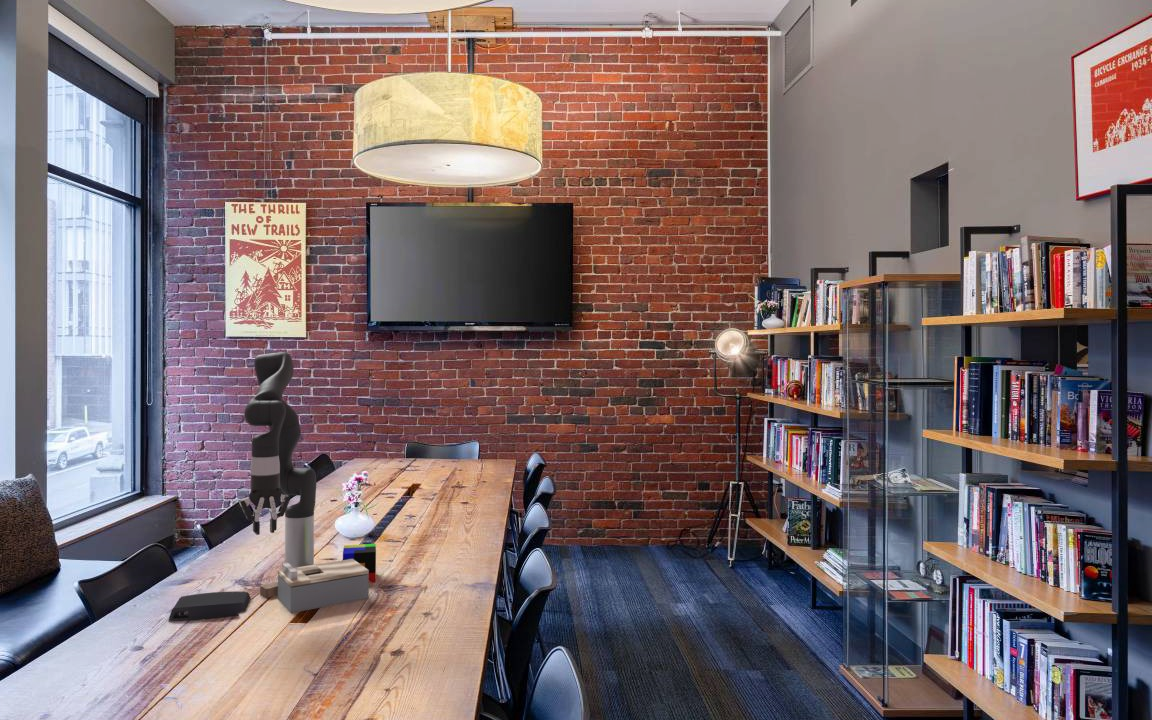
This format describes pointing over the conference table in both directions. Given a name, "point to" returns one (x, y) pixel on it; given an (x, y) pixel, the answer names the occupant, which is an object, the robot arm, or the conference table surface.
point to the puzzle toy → (363, 557)
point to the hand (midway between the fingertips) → (264, 533)
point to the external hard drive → (210, 606)
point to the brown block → (269, 590)
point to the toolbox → (322, 592)
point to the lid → (321, 572)
